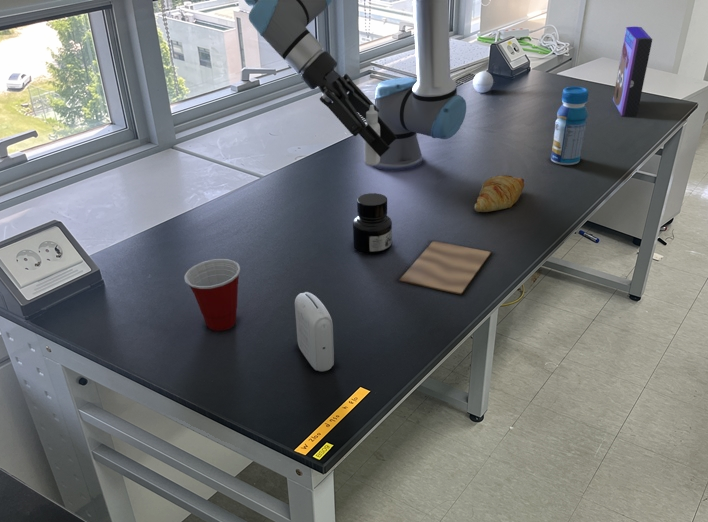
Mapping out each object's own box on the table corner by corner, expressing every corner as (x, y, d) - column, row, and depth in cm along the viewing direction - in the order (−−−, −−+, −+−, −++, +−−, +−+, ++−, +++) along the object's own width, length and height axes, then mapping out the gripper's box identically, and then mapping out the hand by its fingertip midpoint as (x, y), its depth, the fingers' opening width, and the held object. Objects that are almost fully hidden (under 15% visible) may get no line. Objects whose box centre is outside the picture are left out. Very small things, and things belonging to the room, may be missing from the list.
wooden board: (433, 242, 170) (433, 240, 170) (490, 253, 165) (491, 251, 165) (399, 281, 156) (399, 279, 156) (461, 294, 151) (461, 293, 150)
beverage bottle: (573, 168, 204) (585, 95, 192) (545, 162, 208) (554, 91, 197) (584, 158, 209) (597, 87, 198) (557, 153, 214) (567, 83, 202)
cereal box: (612, 100, 252) (626, 26, 238) (627, 100, 252) (641, 26, 238) (621, 116, 238) (636, 38, 224) (636, 116, 238) (652, 38, 224)
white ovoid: (468, 93, 265) (470, 72, 261) (477, 88, 270) (478, 68, 265) (494, 97, 260) (495, 76, 256) (502, 92, 265) (504, 71, 261)
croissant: (484, 230, 182) (500, 208, 175) (456, 204, 184) (470, 181, 177) (527, 201, 194) (543, 179, 188) (500, 177, 196) (514, 154, 190)
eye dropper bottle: (387, 159, 158) (388, 103, 151) (373, 167, 154) (372, 110, 147) (371, 155, 160) (370, 100, 153) (356, 163, 156) (355, 107, 149)
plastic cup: (195, 311, 149) (185, 259, 142) (247, 307, 150) (241, 255, 143) (190, 340, 140) (180, 287, 133) (246, 336, 141) (239, 282, 134)
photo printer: (337, 368, 131) (335, 310, 124) (315, 374, 130) (312, 316, 123) (315, 339, 139) (312, 283, 132) (295, 345, 138) (290, 289, 130)
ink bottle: (378, 260, 164) (378, 211, 157) (345, 251, 168) (344, 203, 161) (399, 242, 171) (399, 195, 164) (366, 234, 175) (366, 187, 168)
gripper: (315, 64, 158) (387, 143, 163) (284, 88, 144) (364, 174, 149) (337, 39, 154) (411, 121, 159) (308, 61, 139) (389, 151, 145)
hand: (388, 146), depth 154 cm, fingers closed on eye dropper bottle, 6 cm apart
